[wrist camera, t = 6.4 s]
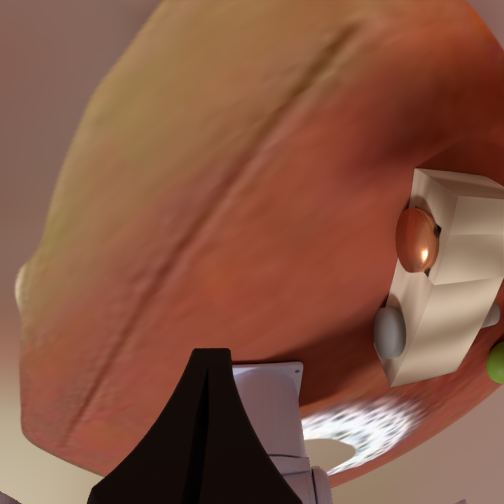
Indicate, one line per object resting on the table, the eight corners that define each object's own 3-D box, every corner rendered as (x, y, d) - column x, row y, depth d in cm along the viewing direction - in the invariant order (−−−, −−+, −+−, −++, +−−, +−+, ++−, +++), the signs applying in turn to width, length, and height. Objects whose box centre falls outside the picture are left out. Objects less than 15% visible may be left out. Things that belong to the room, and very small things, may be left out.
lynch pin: (506, 246, 20) (532, 270, 17) (391, 252, 20) (416, 285, 17) (518, 205, 18) (548, 226, 15) (401, 198, 18) (432, 225, 15)
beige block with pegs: (466, 327, 26) (488, 360, 22) (363, 345, 26) (379, 389, 21) (517, 181, 18) (556, 205, 13) (402, 167, 18) (444, 194, 13)
